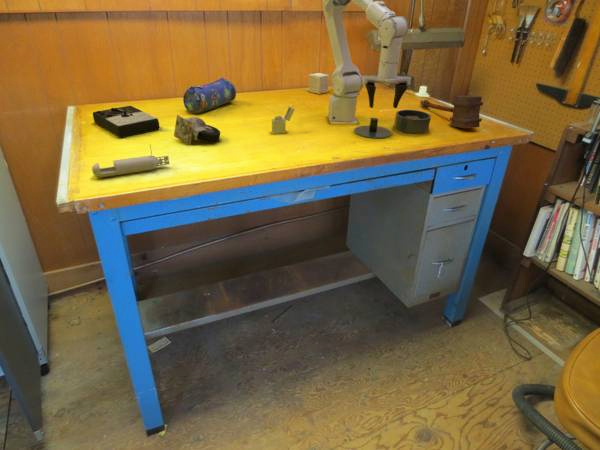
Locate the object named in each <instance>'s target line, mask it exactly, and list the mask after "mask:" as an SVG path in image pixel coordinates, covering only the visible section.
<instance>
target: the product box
mask: <svg viewBox="0 0 600 450" xmlns="http://www.w3.org/2000/svg"><path fill="white" fill-rule="evenodd" d="M308 82H309V83H308V84H309V86H308V88H309V89H308V92H309V93H313V94H317V95H321V94H325V93H328V92H329V82H330V75H329V74H327V73H321V72H316V73H311V74H309V81H308Z"/></svg>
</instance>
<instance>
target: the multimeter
mask: <svg viewBox="0 0 600 450" xmlns="http://www.w3.org/2000/svg"><path fill="white" fill-rule="evenodd" d="M92 118H93V121H94V123H95V124H96V125H98V126H99V127H101V128H102V129H105V130H106V131H108V132H109V133H111V134H113V135H114V136H117V137H118V138H120V139H121V138H122V139H123V138H127V137H131V136H135V135H141V134H146V133H149V132H153V131H158V130H159V129H160V123H159V122H160V121H159V119H158V118H157V117H155V116H154V115H151V114H150V113H147V112H146V111H143V110H141V109H139V108H137V107H135V106H133V105H125V106H120V107H111V108H108V109H104V110H96V111H93V112H92Z"/></svg>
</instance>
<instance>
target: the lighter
mask: <svg viewBox="0 0 600 450" xmlns="http://www.w3.org/2000/svg"><path fill="white" fill-rule="evenodd" d="M294 112H295V108H294V107H293V106H288V108H287V110H286V112H285V115H284V117H283V116H282V115H276V116H274V118H272V119H271V133H272V135H280V134H285V133H286V127H287V125H286V123H287V122H286V121H288V122H290V121H291V119H292V116H293V114H294Z"/></svg>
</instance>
